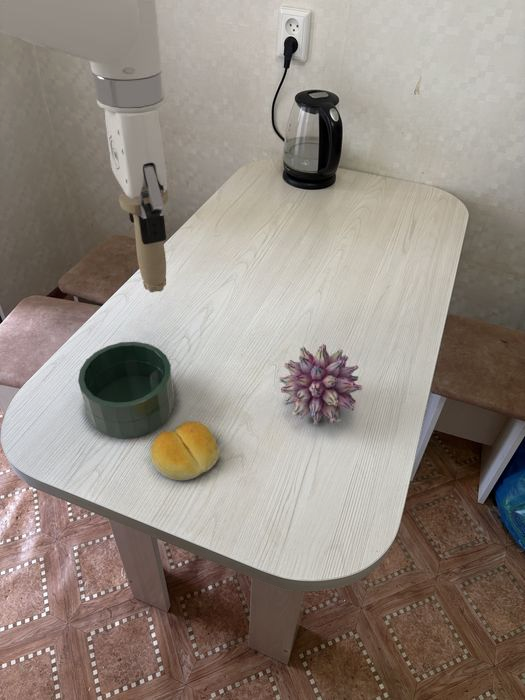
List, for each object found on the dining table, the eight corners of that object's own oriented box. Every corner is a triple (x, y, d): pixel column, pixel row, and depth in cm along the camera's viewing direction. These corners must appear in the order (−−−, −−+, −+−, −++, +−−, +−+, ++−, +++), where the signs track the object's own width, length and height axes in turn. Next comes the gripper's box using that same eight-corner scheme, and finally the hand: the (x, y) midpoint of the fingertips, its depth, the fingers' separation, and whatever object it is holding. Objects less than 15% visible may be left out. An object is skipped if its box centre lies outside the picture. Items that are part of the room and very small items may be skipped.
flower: (362, 419, 77) (317, 456, 69) (302, 377, 83) (254, 406, 75) (389, 361, 71) (343, 395, 63) (322, 319, 76) (272, 344, 68)
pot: (98, 450, 70) (89, 418, 65) (80, 387, 78) (70, 355, 73) (185, 421, 74) (182, 389, 69) (160, 365, 82) (155, 332, 77)
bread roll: (143, 448, 70) (139, 430, 67) (201, 423, 74) (200, 405, 71) (166, 494, 65) (164, 477, 62) (228, 465, 69) (228, 448, 66)
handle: (128, 289, 75) (111, 195, 65) (161, 271, 79) (151, 180, 69) (148, 303, 73) (134, 209, 63) (182, 285, 77) (174, 192, 66)
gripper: (80, 69, 61) (106, 207, 74) (114, 118, 50) (137, 270, 63) (141, 64, 64) (156, 198, 76) (186, 109, 53) (195, 257, 65)
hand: (147, 229), depth 69 cm, fingers closed on handle, 5 cm apart
